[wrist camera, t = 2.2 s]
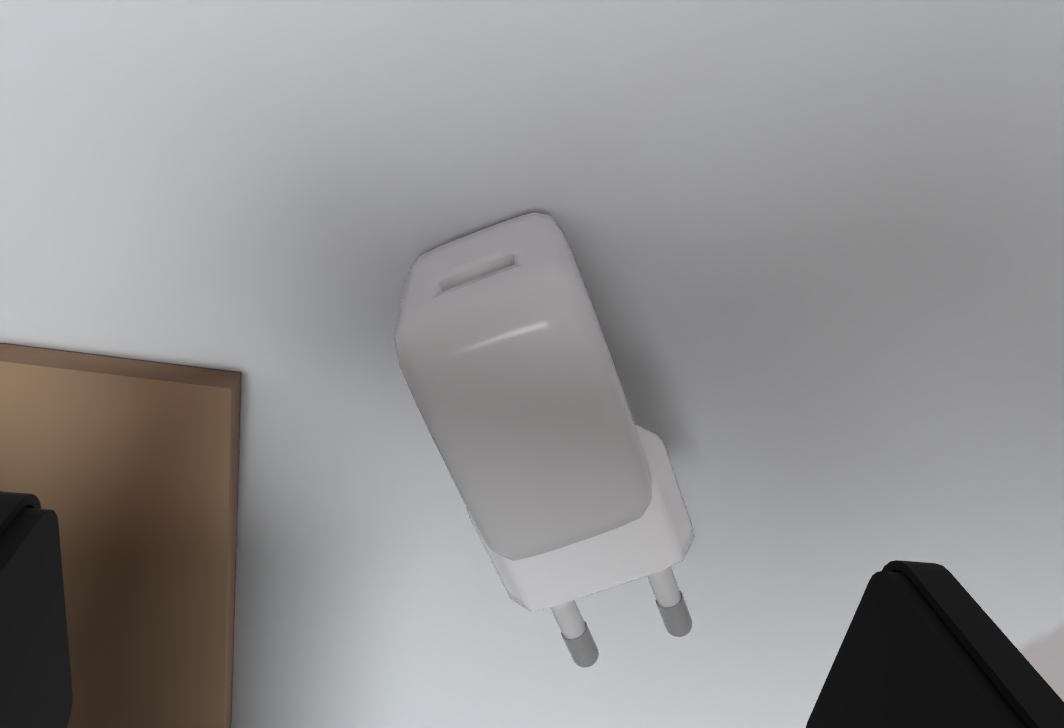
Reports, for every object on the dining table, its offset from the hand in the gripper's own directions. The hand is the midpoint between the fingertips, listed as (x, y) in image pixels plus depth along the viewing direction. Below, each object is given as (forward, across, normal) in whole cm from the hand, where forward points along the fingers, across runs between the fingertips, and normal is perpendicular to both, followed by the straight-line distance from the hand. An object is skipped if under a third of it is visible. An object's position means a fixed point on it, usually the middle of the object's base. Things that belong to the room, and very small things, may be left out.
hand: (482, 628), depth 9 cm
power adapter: (+10, -2, +2) cm, 10 cm away
